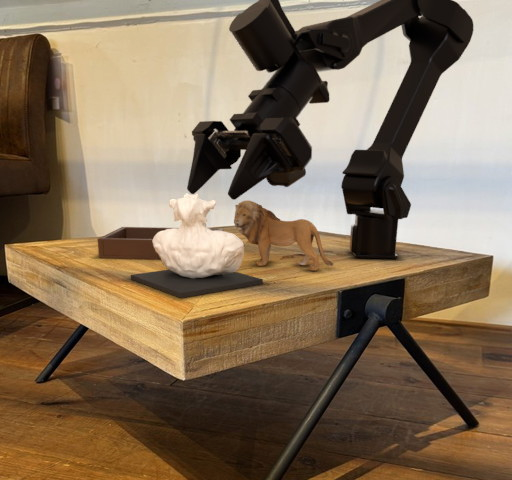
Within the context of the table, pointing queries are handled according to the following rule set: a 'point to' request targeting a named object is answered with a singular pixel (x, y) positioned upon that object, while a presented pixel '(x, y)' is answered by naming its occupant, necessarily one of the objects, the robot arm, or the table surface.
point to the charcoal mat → (194, 282)
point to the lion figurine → (277, 233)
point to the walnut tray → (131, 243)
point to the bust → (197, 242)
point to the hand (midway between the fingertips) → (209, 194)
